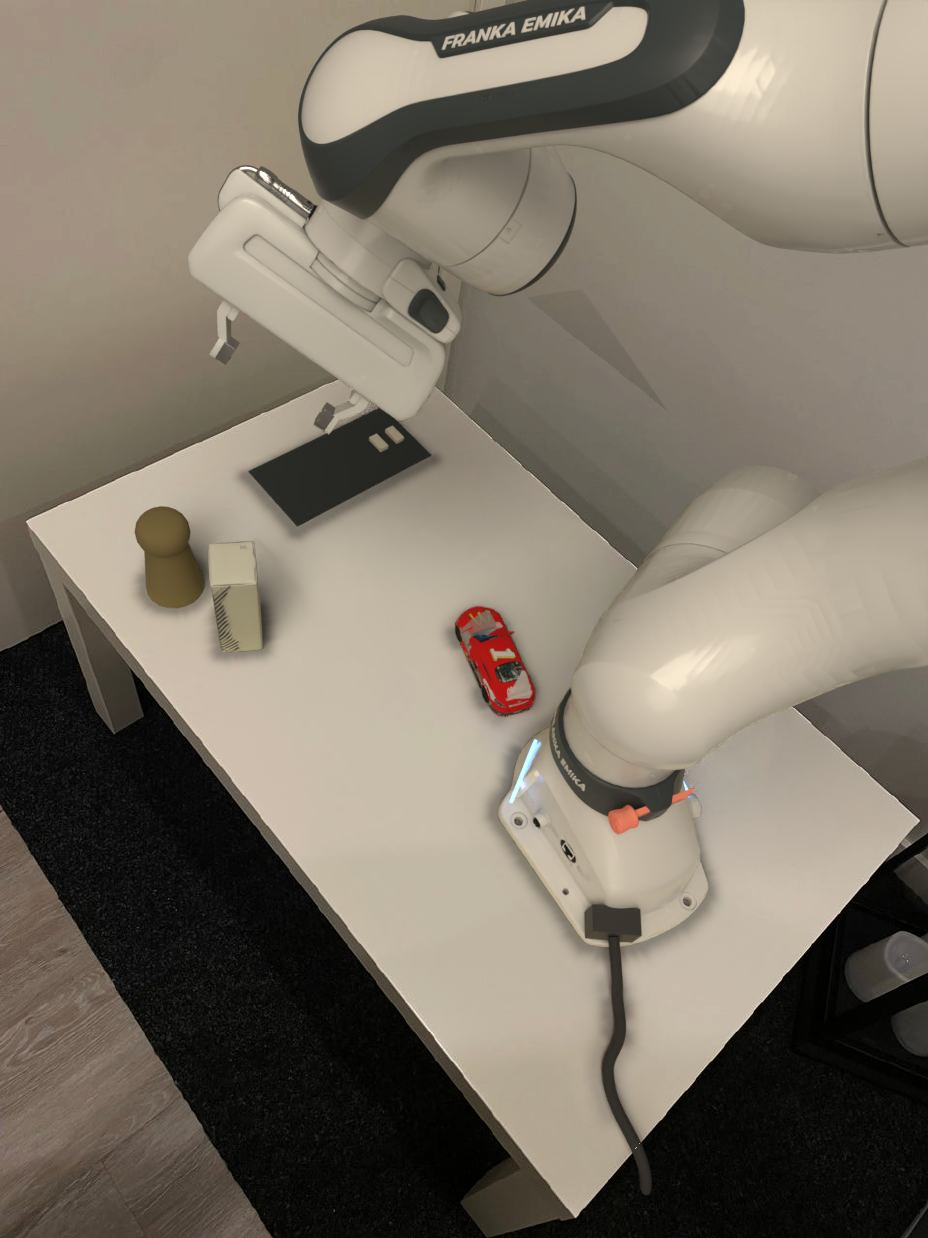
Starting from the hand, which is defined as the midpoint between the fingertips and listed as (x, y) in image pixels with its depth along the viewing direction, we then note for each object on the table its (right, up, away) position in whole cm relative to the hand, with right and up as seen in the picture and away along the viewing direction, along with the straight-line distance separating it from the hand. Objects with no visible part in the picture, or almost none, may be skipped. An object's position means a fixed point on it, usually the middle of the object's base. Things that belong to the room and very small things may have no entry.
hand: (271, 393), depth 69 cm
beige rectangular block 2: (+7, +5, +39) cm, 40 cm away
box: (-8, -20, +22) cm, 31 cm away
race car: (+18, -23, +25) cm, 38 cm away
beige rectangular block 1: (+5, +4, +38) cm, 38 cm away
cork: (-16, -14, +24) cm, 32 cm away
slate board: (+1, 0, +36) cm, 36 cm away
